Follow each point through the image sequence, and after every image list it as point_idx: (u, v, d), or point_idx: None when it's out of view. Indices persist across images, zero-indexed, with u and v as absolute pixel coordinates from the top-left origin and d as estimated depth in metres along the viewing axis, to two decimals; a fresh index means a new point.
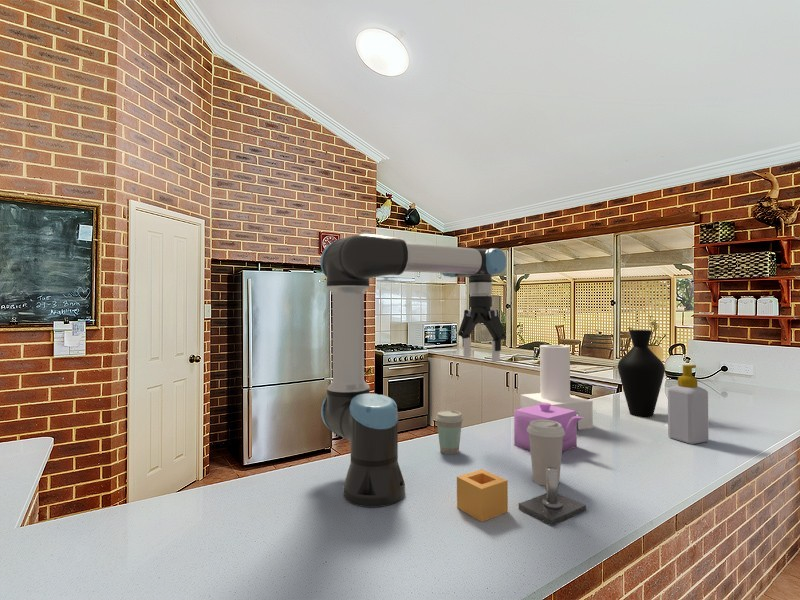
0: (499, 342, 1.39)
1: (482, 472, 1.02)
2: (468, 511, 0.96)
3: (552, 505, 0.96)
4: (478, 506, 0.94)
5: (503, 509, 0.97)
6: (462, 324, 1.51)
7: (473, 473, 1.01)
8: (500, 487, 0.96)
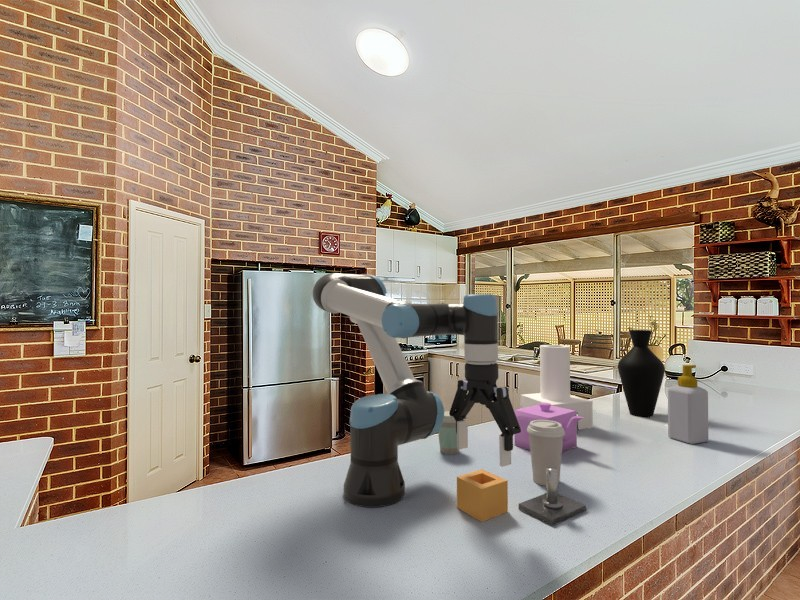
0: (510, 437, 0.91)
1: (482, 472, 1.02)
2: (468, 511, 0.96)
3: (552, 505, 0.96)
4: (478, 506, 0.94)
5: (503, 509, 0.97)
6: (455, 400, 1.04)
7: (473, 473, 1.01)
8: (500, 487, 0.96)
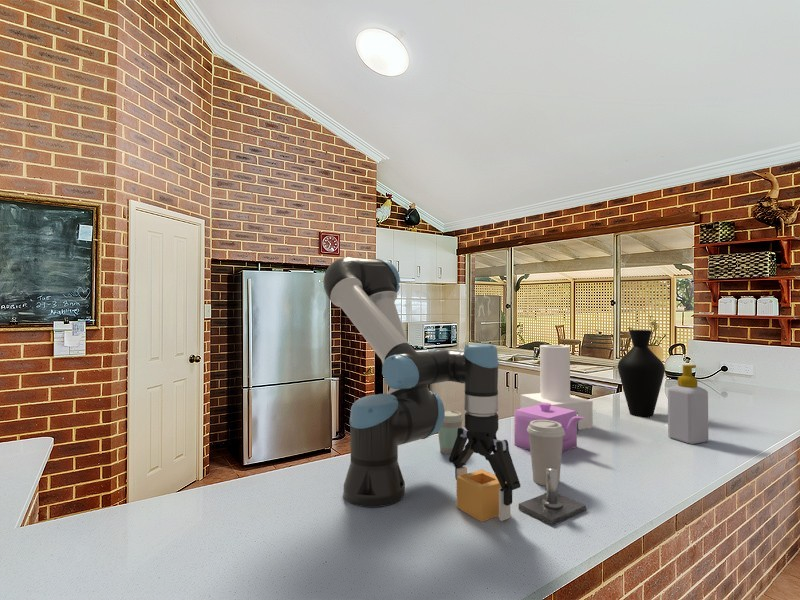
0: (510, 492, 0.92)
1: (482, 472, 1.02)
2: (468, 511, 0.96)
3: (552, 505, 0.96)
4: (478, 506, 0.94)
5: None
6: (455, 447, 1.04)
7: (473, 473, 1.01)
8: (500, 487, 0.96)
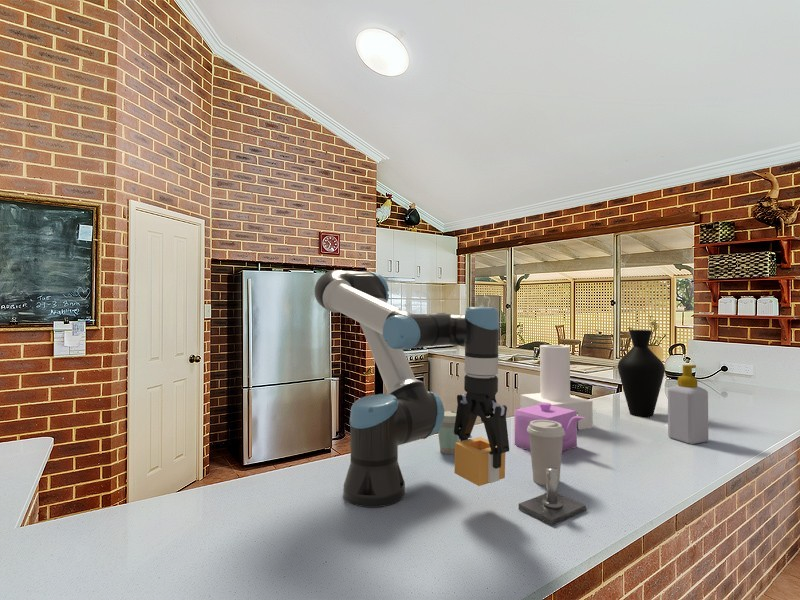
0: (499, 455, 0.94)
1: (480, 439, 1.02)
2: (465, 476, 0.97)
3: (552, 505, 0.96)
4: (476, 471, 0.94)
5: (500, 475, 0.97)
6: (457, 417, 1.03)
7: (471, 440, 1.02)
8: None
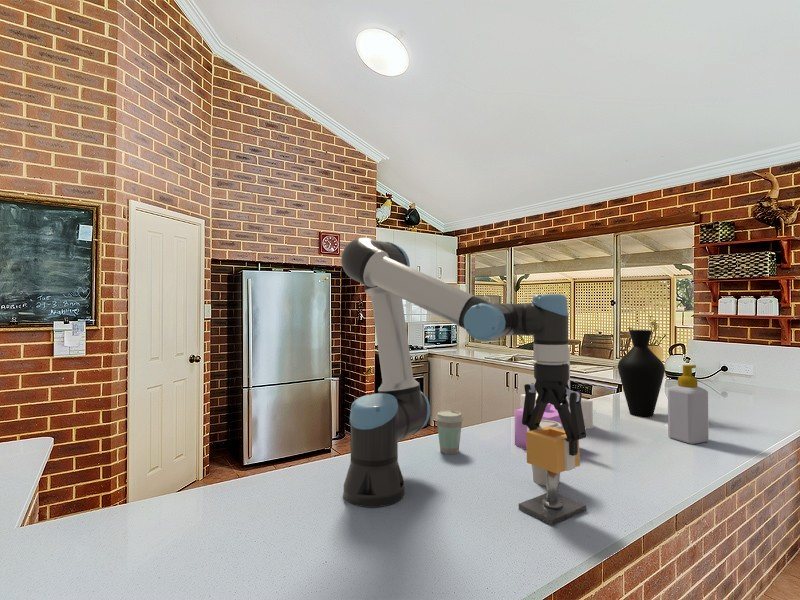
0: (575, 442, 0.93)
1: (550, 428, 1.02)
2: (540, 464, 0.96)
3: (552, 505, 0.96)
4: (553, 458, 0.93)
5: (575, 462, 0.96)
6: (526, 407, 1.03)
7: (541, 429, 1.01)
8: None
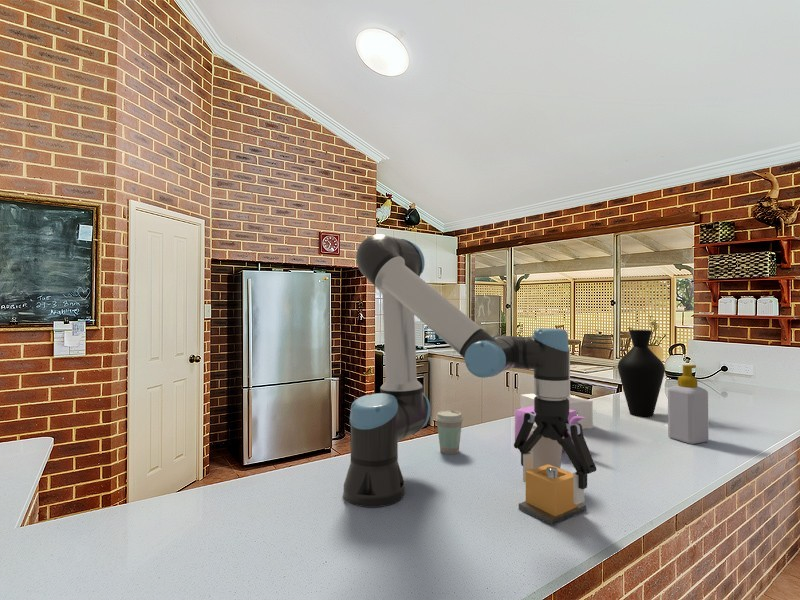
0: (585, 476, 0.91)
1: None
2: (539, 505, 0.96)
3: None
4: (551, 500, 0.93)
5: None
6: (521, 433, 1.04)
7: (541, 468, 1.01)
8: (571, 482, 0.96)
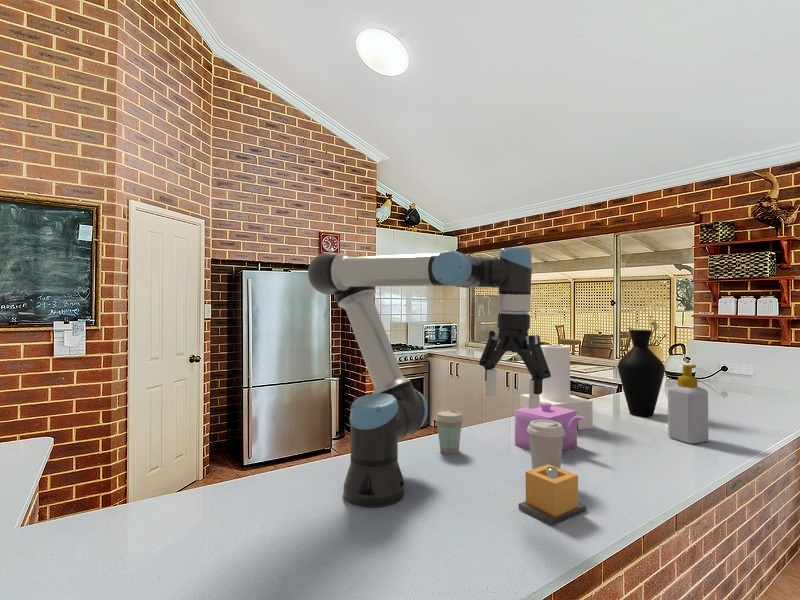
0: (540, 382, 0.97)
1: None
2: (539, 505, 0.96)
3: None
4: (551, 500, 0.93)
5: (574, 503, 0.96)
6: (486, 350, 1.10)
7: (541, 468, 1.01)
8: (571, 482, 0.96)
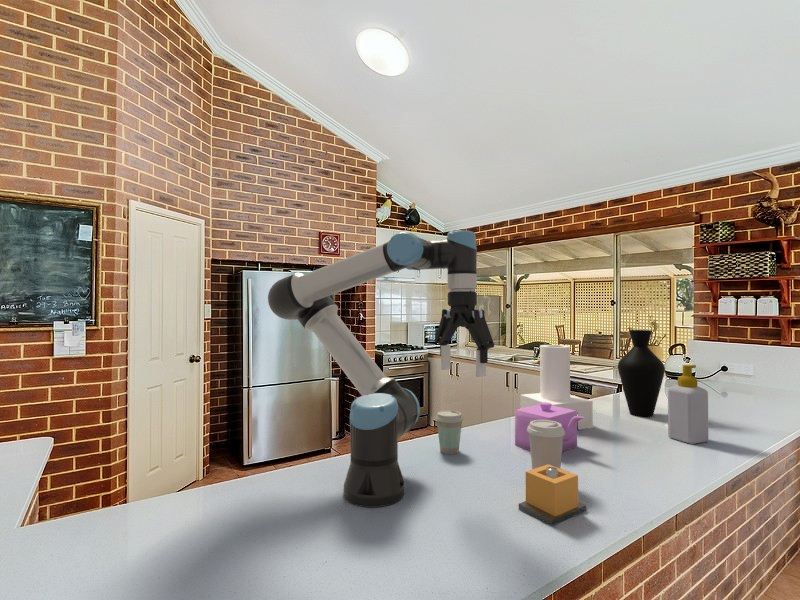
0: (485, 352, 1.06)
1: None
2: (539, 505, 0.96)
3: None
4: (551, 500, 0.93)
5: (574, 503, 0.96)
6: (439, 328, 1.19)
7: (541, 468, 1.01)
8: (571, 482, 0.96)
